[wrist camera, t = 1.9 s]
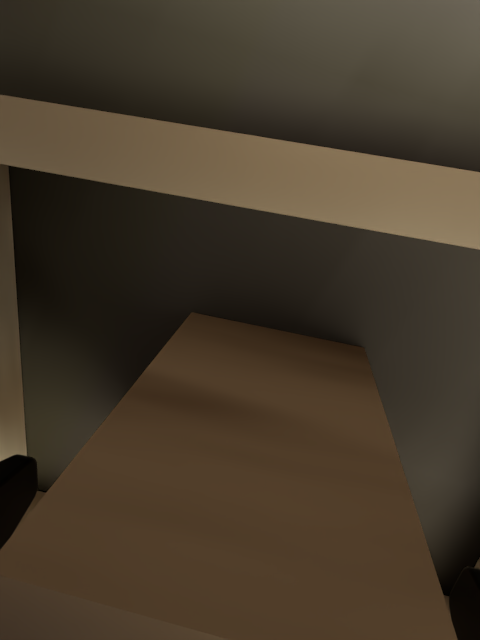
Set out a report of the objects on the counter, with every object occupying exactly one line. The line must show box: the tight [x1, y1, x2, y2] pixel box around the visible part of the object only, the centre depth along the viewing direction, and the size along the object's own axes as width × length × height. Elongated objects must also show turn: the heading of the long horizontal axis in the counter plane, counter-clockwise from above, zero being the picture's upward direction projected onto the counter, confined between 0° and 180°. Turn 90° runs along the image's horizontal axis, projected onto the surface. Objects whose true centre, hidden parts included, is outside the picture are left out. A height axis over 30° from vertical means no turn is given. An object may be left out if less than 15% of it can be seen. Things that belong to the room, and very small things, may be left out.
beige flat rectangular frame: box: [0, 95, 480, 617], centre depth 11 cm, size 14×18×3 cm
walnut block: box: [0, 312, 458, 640], centre depth 8 cm, size 5×5×8 cm
